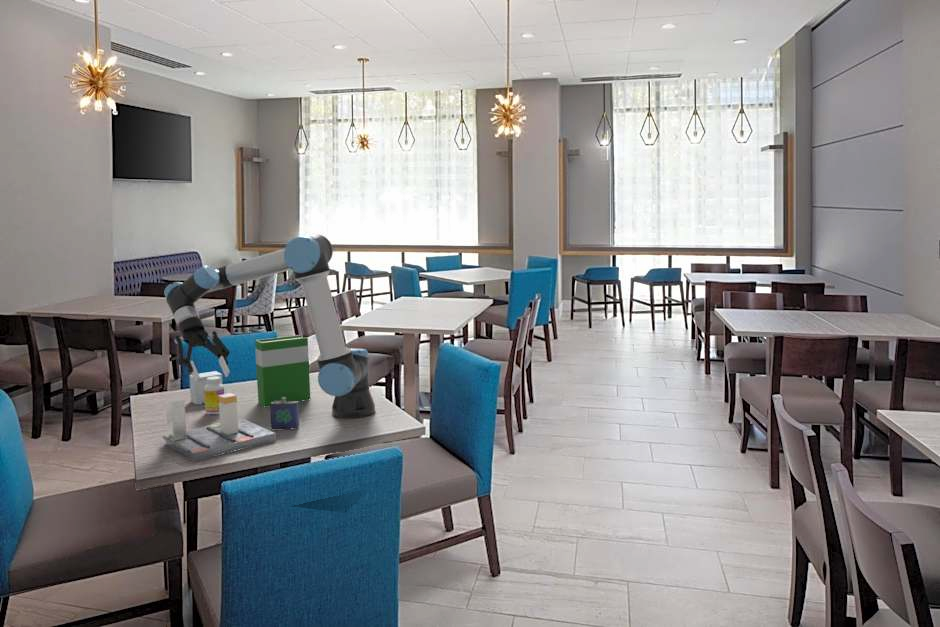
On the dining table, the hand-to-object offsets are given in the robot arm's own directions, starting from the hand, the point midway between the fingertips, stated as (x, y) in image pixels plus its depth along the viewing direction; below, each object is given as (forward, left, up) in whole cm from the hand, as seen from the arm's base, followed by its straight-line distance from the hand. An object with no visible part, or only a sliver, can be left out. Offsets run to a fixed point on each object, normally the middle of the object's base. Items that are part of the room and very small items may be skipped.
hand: (212, 376), depth 236 cm
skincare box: (+28, -33, -19) cm, 48 cm away
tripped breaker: (-9, +5, -16) cm, 19 cm away
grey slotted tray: (-7, +8, -19) cm, 22 cm away
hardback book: (-1, -40, -19) cm, 45 cm away
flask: (-19, -10, -19) cm, 29 cm away
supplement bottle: (+15, -20, -19) cm, 32 cm away
